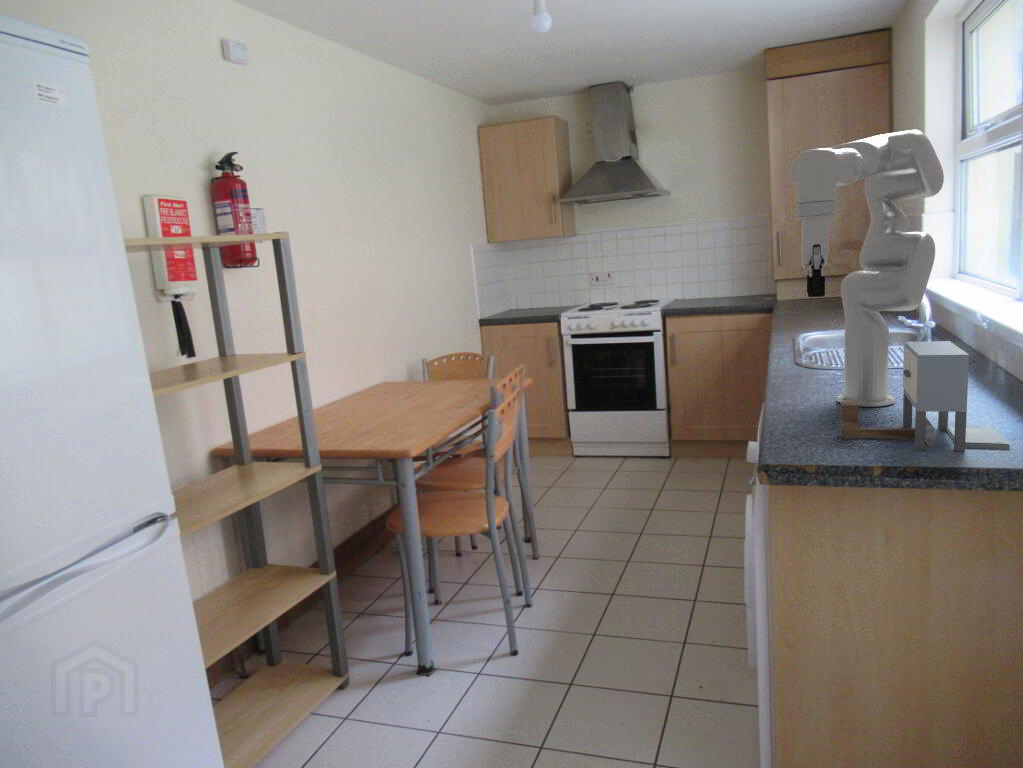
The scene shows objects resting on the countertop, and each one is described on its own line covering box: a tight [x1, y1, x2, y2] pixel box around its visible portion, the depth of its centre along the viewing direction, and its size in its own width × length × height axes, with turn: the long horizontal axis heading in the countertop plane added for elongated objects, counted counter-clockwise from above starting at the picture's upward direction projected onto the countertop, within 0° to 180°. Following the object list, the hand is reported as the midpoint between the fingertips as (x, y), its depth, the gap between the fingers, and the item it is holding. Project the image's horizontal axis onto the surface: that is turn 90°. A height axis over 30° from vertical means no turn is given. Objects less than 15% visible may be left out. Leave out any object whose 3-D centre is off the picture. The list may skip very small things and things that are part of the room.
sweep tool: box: [839, 402, 936, 446], centre depth 149 cm, size 10×16×7 cm, turn 70°
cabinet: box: [902, 340, 970, 453], centre depth 145 cm, size 18×9×18 cm, turn 160°
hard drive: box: [946, 426, 1010, 450], centre depth 144 cm, size 2×8×12 cm
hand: (815, 294), depth 157 cm, fingers open, 9 cm apart
